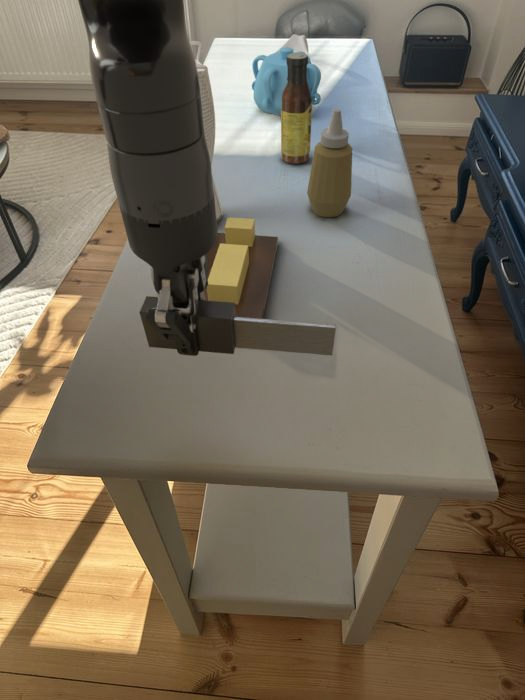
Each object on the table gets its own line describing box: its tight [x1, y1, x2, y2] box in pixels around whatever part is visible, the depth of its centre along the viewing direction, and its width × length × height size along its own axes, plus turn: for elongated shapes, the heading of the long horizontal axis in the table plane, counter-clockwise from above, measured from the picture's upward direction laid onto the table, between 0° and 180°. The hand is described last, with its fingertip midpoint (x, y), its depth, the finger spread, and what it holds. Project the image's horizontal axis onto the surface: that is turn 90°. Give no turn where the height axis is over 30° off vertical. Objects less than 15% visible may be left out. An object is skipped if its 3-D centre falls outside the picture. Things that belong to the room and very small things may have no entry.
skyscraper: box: [189, 40, 224, 223], centre depth 79 cm, size 8×8×28 cm
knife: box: [139, 295, 337, 357], centre depth 48 cm, size 19×2×5 cm, turn 83°
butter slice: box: [224, 217, 256, 247], centre depth 80 cm, size 4×3×4 cm, turn 82°
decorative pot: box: [251, 47, 322, 116], centre depth 119 cm, size 16×16×14 cm
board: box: [204, 232, 279, 319], centre depth 76 cm, size 12×22×2 cm, turn 172°
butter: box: [207, 244, 249, 305], centre depth 73 cm, size 4×10×4 cm, turn 172°
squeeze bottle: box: [306, 108, 353, 218], centre depth 84 cm, size 8×8×18 cm
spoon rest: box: [274, 33, 311, 59], centre depth 142 cm, size 24×12×7 cm, turn 167°
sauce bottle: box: [280, 53, 313, 165], centre depth 98 cm, size 7×6×20 cm
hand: (192, 342), depth 51 cm, fingers closed on knife, 2 cm apart
